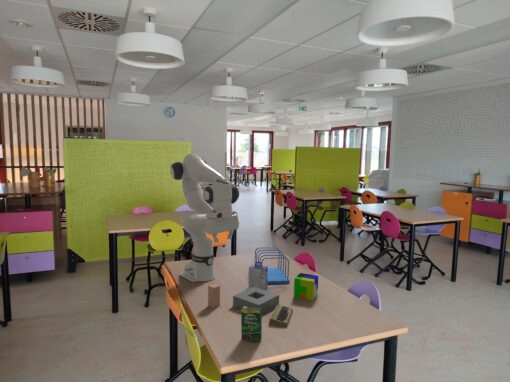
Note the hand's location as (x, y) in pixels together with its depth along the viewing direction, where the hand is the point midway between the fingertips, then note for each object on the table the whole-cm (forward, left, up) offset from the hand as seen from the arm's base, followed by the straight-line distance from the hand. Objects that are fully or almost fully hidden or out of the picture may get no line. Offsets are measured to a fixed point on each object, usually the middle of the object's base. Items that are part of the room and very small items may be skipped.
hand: (223, 240), depth 175 cm
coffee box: (+34, -19, -31) cm, 50 cm away
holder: (+15, +8, -31) cm, 35 cm away
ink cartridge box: (+2, +26, -31) cm, 41 cm away
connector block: (0, -6, -31) cm, 32 cm away
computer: (+32, +5, -32) cm, 45 cm away
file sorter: (-4, +46, -31) cm, 56 cm away
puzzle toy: (+27, +35, -31) cm, 54 cm away
